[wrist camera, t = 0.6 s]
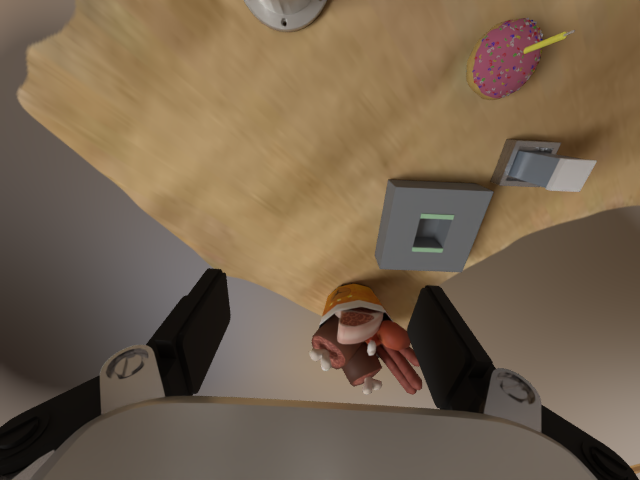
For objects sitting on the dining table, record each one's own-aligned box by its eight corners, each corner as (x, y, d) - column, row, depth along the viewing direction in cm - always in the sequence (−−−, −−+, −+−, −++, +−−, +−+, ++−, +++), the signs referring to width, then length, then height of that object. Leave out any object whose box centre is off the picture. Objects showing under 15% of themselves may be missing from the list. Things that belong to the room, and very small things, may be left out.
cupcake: (499, 13, 32) (586, -36, 22) (523, 69, 35) (609, 51, 25) (442, 65, 35) (494, 44, 25) (468, 113, 38) (525, 114, 28)
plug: (514, 149, 40) (565, 159, 32) (538, 150, 40) (597, 160, 32) (503, 174, 42) (550, 190, 33) (527, 175, 42) (579, 191, 34)
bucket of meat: (308, 322, 60) (302, 409, 42) (315, 268, 52) (313, 347, 35) (386, 329, 61) (412, 417, 43) (404, 278, 53) (446, 359, 36)
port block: (388, 179, 43) (396, 187, 38) (476, 183, 43) (494, 191, 39) (374, 255, 51) (380, 269, 46) (449, 258, 51) (462, 272, 46)
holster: (506, 139, 40) (516, 140, 38) (548, 141, 40) (561, 142, 38) (490, 181, 43) (499, 185, 41) (529, 183, 43) (539, 187, 41)
